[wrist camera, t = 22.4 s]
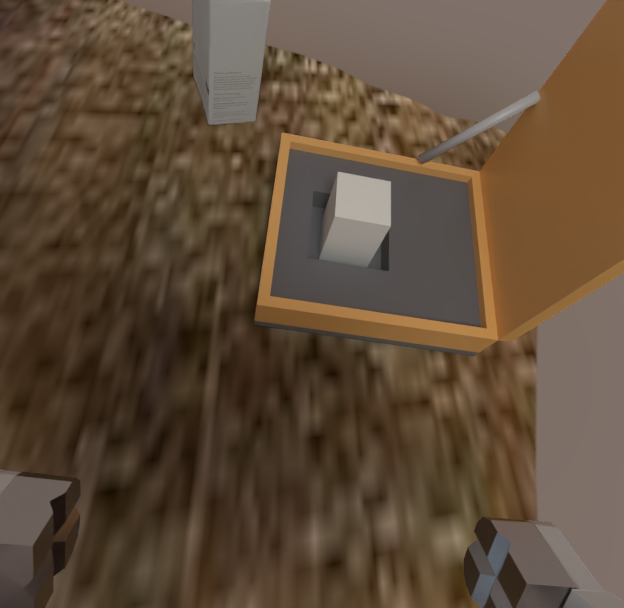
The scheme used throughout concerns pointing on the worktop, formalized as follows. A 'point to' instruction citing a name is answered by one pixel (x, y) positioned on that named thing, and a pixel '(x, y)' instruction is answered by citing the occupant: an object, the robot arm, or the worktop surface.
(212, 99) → the skincare box
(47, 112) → the worktop surface
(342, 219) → the plate
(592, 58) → the equipment case
